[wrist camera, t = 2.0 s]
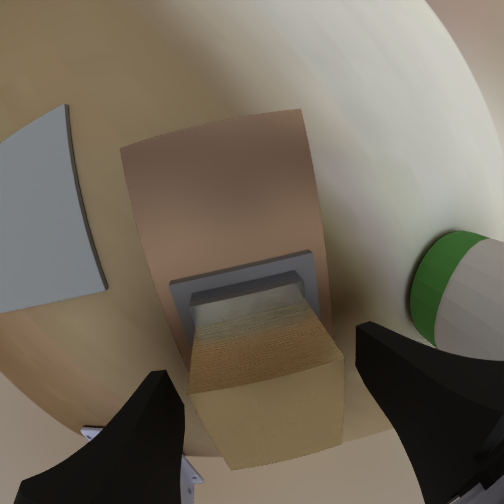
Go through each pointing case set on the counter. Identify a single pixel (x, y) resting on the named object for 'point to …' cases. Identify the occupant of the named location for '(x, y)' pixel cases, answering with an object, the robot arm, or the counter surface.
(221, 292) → the tan small block
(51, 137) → the slate mat
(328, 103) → the counter surface
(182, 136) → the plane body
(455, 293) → the wine bottle
